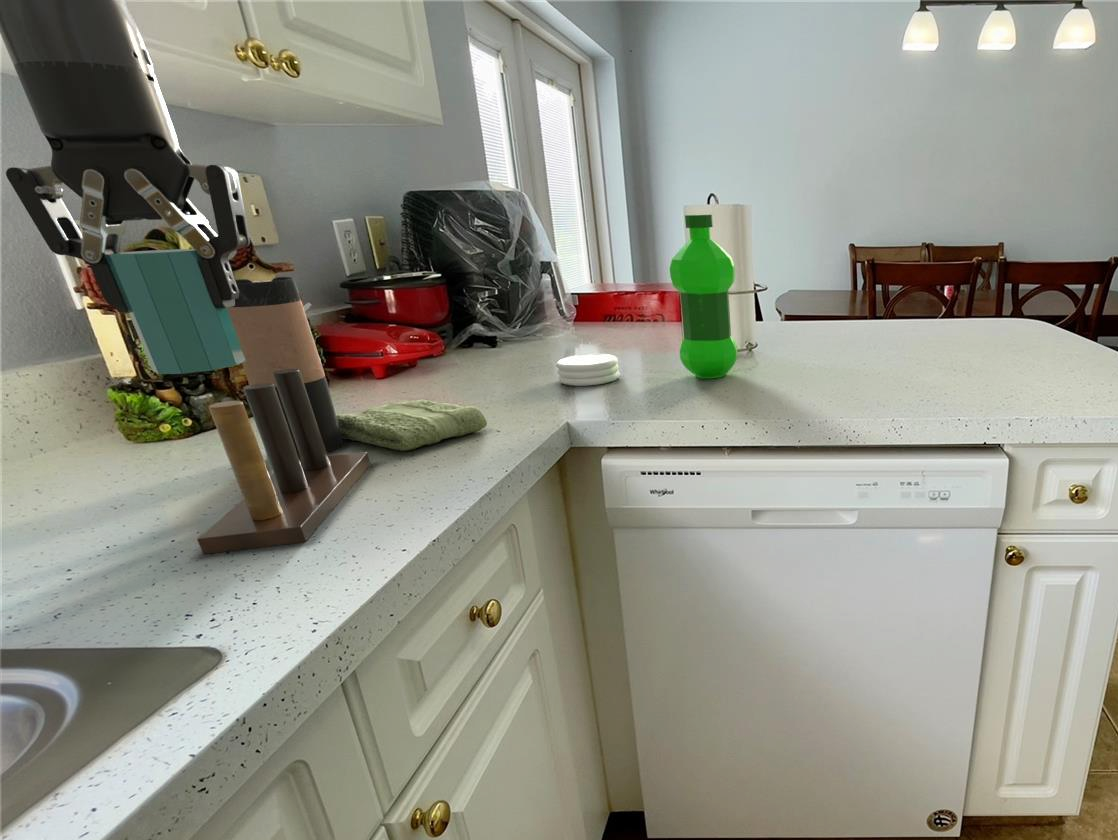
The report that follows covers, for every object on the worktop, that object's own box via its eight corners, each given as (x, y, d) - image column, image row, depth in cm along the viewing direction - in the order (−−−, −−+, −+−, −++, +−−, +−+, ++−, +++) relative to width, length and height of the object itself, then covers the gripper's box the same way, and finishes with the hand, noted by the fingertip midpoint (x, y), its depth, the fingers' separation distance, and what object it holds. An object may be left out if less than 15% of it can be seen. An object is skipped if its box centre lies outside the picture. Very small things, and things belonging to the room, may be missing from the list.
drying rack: (203, 554, 62) (145, 420, 57) (294, 471, 81) (257, 366, 76) (306, 542, 64) (259, 411, 59) (371, 463, 83) (340, 360, 78)
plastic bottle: (695, 367, 127) (682, 214, 116) (750, 370, 124) (742, 213, 113) (669, 380, 119) (652, 216, 108) (727, 383, 115) (716, 215, 105)
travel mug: (305, 461, 84) (245, 284, 76) (259, 456, 87) (196, 283, 78) (360, 442, 91) (310, 277, 82) (316, 437, 93) (263, 276, 85)
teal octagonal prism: (138, 377, 56) (86, 255, 52) (178, 361, 62) (133, 251, 58) (225, 370, 58) (180, 251, 54) (256, 356, 63) (218, 247, 59)
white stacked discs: (587, 371, 126) (584, 351, 125) (632, 375, 122) (629, 355, 121) (546, 383, 118) (542, 362, 117) (592, 389, 114) (589, 367, 113)
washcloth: (421, 412, 103) (415, 390, 102) (496, 430, 94) (491, 406, 93) (326, 436, 93) (319, 412, 92) (400, 458, 85) (393, 432, 83)
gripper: (-84, 54, 46) (41, 322, 53) (176, 57, 49) (261, 310, 56) (0, 73, 52) (102, 309, 59) (224, 75, 56) (295, 299, 63)
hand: (179, 308), depth 58 cm, fingers closed on teal octagonal prism, 6 cm apart
